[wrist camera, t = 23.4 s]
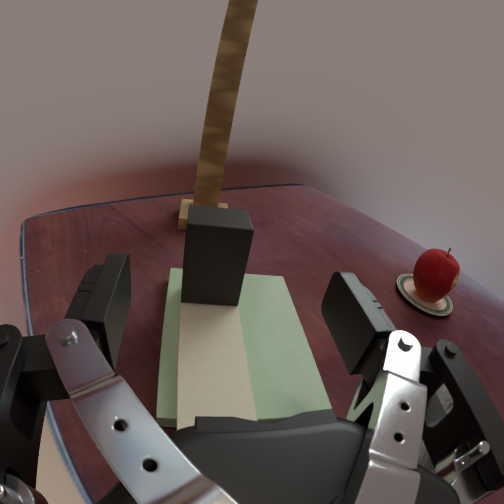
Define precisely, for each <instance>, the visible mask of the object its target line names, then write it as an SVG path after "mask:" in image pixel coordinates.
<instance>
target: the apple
mask: <svg viewBox="0 0 504 504" xmlns="http://www.w3.org/2000/svg"><path fill="white" fill-rule="evenodd" d="M450 251H451V249H450V248H449V251H448V253H447V252H446V251H443V250H440V249H429V250H427V251H425V252H424V253H423V254H422V255H421V256H420V257H419V258H418V260H417V262H416V264H415V267H414V272H413V274H403V275H401V276H399V277H398V279H397V286H398V289H399V290H400V292H401V293H402V295H403V296H404V297H405V298H406V299H407V300H408V301H409V302H411V303H412V304H413V305H414V306H416V307H418V308H419V309H421V310H423V311H425V312H427V313H430V314H433V315H437V316H446V315H448V314H450V312H451V311H452V303H451V300H450V299H449V297H448V294H449V293H450V292H451V291H452V289H453V288H454V286H455V285H456V283H457V280H458V275H459V271H460V267H459V264H458V262H457V261H456V259H455V258H454V257H453V256H452V255H450V254H449V252H450Z"/></svg>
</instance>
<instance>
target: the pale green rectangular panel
mask: <svg viewBox="0 0 504 504" xmlns="http://www.w3.org/2000/svg"><path fill="white" fill-rule="evenodd" d="M182 273H183V269H179V268H171V269H170V275H169V282H168V290H167V298H166V306H165V314H164V323H163V332H162V342H161V353H160V364H159V377H158V392H157V410H156V419H157V423H158V425H159V426H160V427H174V428H177V366H178V340H179V321H180V305H181V288H182ZM238 311H239V317H240V323H241V329H242V335H243V341H244V347H245V353H246V359H247V365H248V370H249V376H250V382H251V388H252V393H253V399H254V404H255V410H256V415H257V421H259V422H266V423H273V422H276V421H279V420H282V419H285V418H288V417H291V416H294V415H297V414H299V413H302V412H309V411H318V410H325V409H332V407H331V404H330V402H329V399H328V396H327V393H326V391H325V388H324V385H323V382H322V380H321V377H320V374H319V371H318V369H317V366H316V363H315V360H314V358H313V355H312V352H311V350H310V347H309V344H308V342H307V339H306V336H305V334H304V331H303V328H302V326H301V323H300V320H299V318H298V315H297V312H296V310H295V307H294V305H293V302H292V299H291V297H290V294H289V291H288V289H287V286H286V284H285V281H284V278H283V277H282V276H268V275H254V274H245V275H244V280H243V284H242V289H241V294H240V299H239V303H238Z"/></svg>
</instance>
